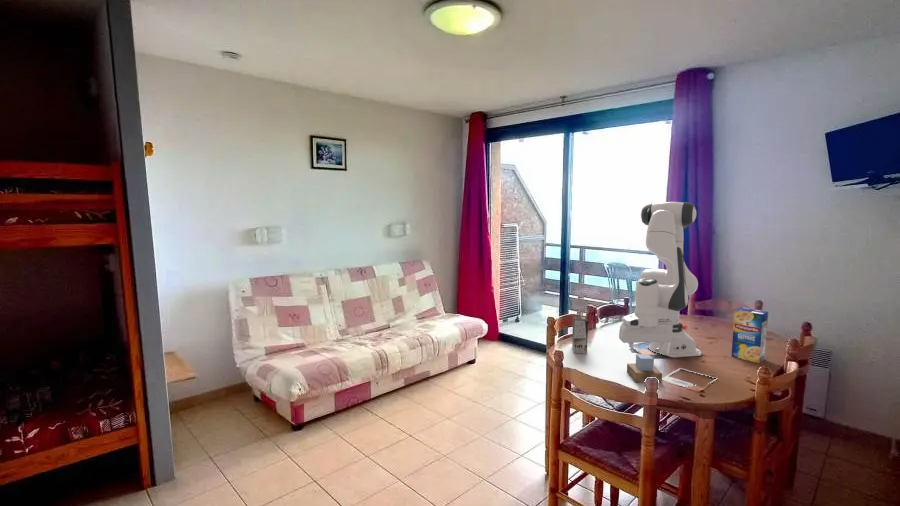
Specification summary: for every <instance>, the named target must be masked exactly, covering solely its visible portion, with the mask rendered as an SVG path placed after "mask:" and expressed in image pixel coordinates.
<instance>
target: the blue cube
mask: <svg viewBox="0 0 900 506" xmlns="http://www.w3.org/2000/svg"><path fill="white" fill-rule="evenodd" d="M653 362H654V363H655V357H654V358H652V357H651V356H650V355H649V354H638V353H636V354H635V364H636V367H637V368H638V369H639V370H640V371H653Z"/></svg>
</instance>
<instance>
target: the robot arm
mask: <svg viewBox="0 0 900 506" xmlns="http://www.w3.org/2000/svg"><path fill="white" fill-rule="evenodd" d="M640 218H641V222H642V223H643V224H644V225H646V226H647V230H646V237H645V246H646V248H647V249H648V251H649V252H650V253H651V254H653V255H654V256H656V258H657V259H658V260H659V261H660V262H662V263H663V264H664V265H665V267H666V269H663V268H646V269H644V270H643V271H642V272H641V274H640V277H639V279H638V280H637V283H636V286H635V295H634V302H635V309H634V312H633V313H631V314H627V315H624V316H622V317H621V321H622V323H621V324H620V326H619V332H618V333H619V334H618V339H619V340H620V341H621V342H622V343H623V344H626V343H627V344H628V345H629V347H630V352H631V353H632V354H635V353H636V354H637V348H636V347H635V346H634V343H637V344H638V343H641V344H642V343H649V344H648V347H647V349H648V348H649V349H650V350H651V352H652V351H653V352H652V353H654V352H656V353H655V354H657V353H660V354H659V355H661V354H662V356H667V357H669V358H684V357H687V358H688V357H698V356H699V357H700V356H702V351H701V349H699V348H697V345H696V341H695V339H694V338H693V337H691V336H690V335H689V334H688V333H686V332H685V331H686V330H687V329H688V325H686V324H685V323H684V324H683V323H681V322H680V311H681V310H683V309H685V308H686V307H688V304H689V303H688V302H689V296H692V295H694V294H695V292H696V291H698V286H699V281H698V278H697V277H696V276H695V275H694V274H693V273H692V272H691V270H690V269H689V268H688V266H687V265H686V263H685V259H684V230H685V229H687V227H690V226H691V225H692V224H694V222H695V220H696V218H697V209H696V206H695V205H694V203H692V202H687V201H684V202H681V201H665V202H664V201H663V202H662V201H661V202H649V203H645V204H644V205H643V206H642V209H641V212H640ZM684 330H685V331H684ZM649 349H648V350H649Z"/></svg>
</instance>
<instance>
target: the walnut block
mask: <svg viewBox="0 0 900 506" xmlns="http://www.w3.org/2000/svg"><path fill="white" fill-rule="evenodd" d="M626 363H627V362H626ZM626 374H628V376H629V377H630V378H631V379H632V380H633V381H634V382H635V383H637V384H639V383H641V384H642V383H643V384H645V383H644V381H645V379H646V378H647V377H656V378H657V379H658V380H659V382H660V383H659V384H662V382H663V381H662V378H663V372H661V371H660V370H659V368H657V367H656V366H655V364H654V365H653V371H640V370H639V369H638V368H637V367H636V363H627V364H626Z"/></svg>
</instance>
